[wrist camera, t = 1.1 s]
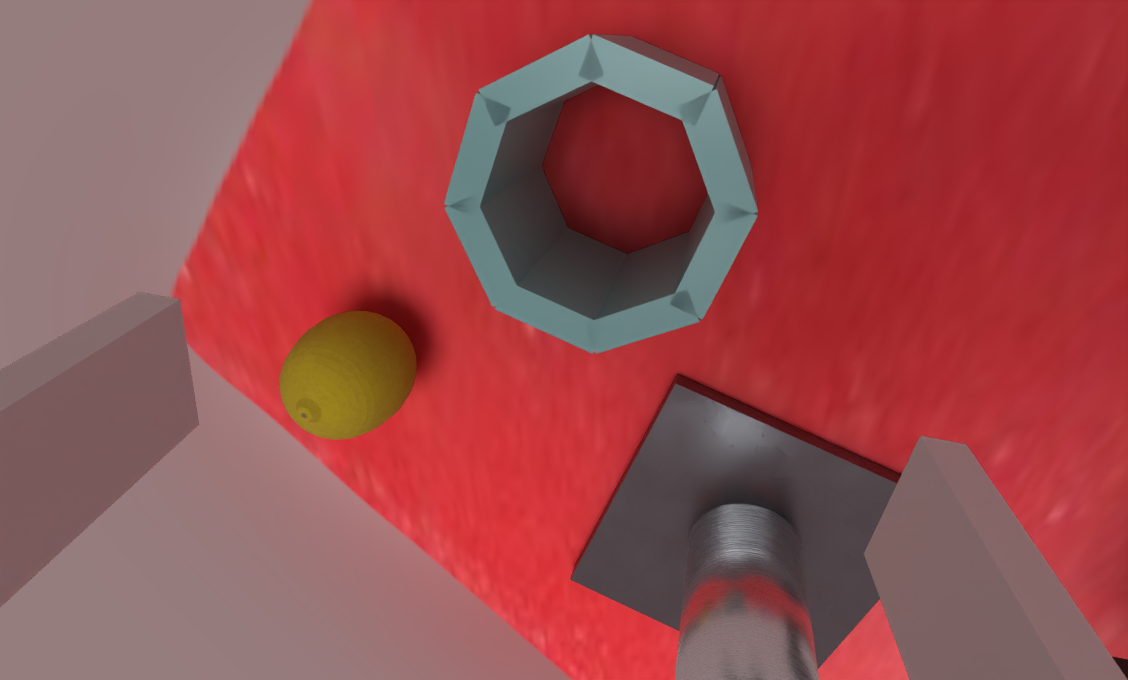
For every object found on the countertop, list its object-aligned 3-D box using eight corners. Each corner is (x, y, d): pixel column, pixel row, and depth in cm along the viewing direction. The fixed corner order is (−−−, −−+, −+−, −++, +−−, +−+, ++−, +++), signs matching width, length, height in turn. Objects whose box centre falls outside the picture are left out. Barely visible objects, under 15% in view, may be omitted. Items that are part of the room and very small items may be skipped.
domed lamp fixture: (951, 497, 31) (1050, 706, 21) (799, 672, 38) (822, 895, 28) (677, 374, 32) (652, 521, 22) (574, 567, 38) (518, 747, 28)
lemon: (331, 353, 36) (232, 430, 29) (361, 269, 33) (260, 331, 26) (419, 403, 36) (342, 492, 29) (456, 323, 33) (381, 399, 26)
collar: (786, 102, 26) (805, 125, 19) (682, 306, 30) (666, 387, 23) (565, 7, 26) (504, -5, 19) (494, 222, 31) (422, 276, 24)
